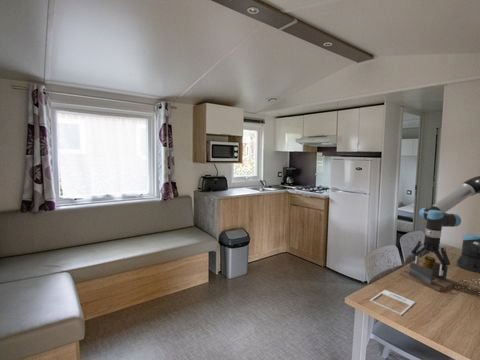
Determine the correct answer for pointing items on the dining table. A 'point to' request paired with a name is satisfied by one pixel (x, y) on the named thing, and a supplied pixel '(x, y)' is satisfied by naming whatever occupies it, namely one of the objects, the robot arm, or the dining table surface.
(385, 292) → the photo frame
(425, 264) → the condiment
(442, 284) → the tray
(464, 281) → the dining table surface
